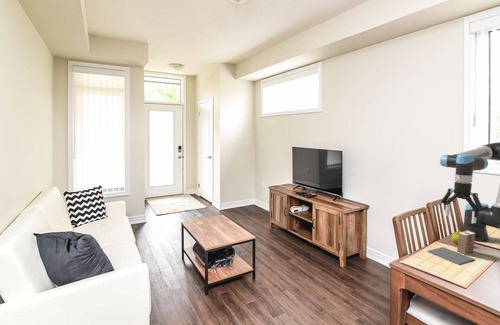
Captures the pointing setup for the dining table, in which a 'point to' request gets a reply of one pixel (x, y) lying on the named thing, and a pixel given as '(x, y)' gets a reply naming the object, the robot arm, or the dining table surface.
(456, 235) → the fruit
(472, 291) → the dining table surface
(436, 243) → the dining table surface
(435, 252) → the felt pad
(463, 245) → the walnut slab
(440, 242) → the dining table surface
